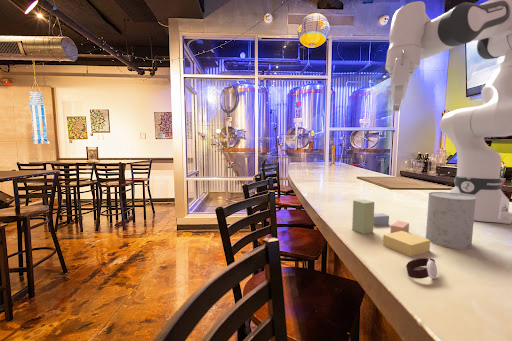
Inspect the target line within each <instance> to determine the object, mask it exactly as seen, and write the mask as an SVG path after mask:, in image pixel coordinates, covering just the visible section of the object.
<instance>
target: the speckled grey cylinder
mask: <svg viewBox="0 0 512 341" xmlns="http://www.w3.org/2000/svg"><path fill="white" fill-rule="evenodd" d="M475 202H476V197H473V196H470V195H464V194H458V193H450V192H444V191H432V192H429V193H428V203H427V213H426V230H425V231H426V232H425V237H424V238H425V239H428V240H430V243H432V244H435V245H437V246H441V247H445V248H450V249H455V250H456V249H457V250H469V249H471V248H472V247H473V235H474V222H475V220H474V213H475Z"/></svg>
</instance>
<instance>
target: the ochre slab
mask: <svg viewBox="0 0 512 341" xmlns="http://www.w3.org/2000/svg"><path fill="white" fill-rule="evenodd" d="M382 238H383V242H382V243H383V244H382V245H383V246H385V247H387V248H390V249H391V250H395V251H396V252H399V253H401V254H404V255H406V256H408V257H414V256H417V255H421V254H423V253H427V252H430V251H431V250H430V249H431V242H430V240H428V239H426V237H422V236H419V235H416V234H412V233H409V232H408V233H407V232H404V231H399V232H394V233H391V232H390V233H386V234H383V237H382Z"/></svg>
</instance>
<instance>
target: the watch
mask: <svg viewBox="0 0 512 341" xmlns="http://www.w3.org/2000/svg"><path fill="white" fill-rule="evenodd" d="M420 267H425V268H423V269H416V268H420ZM405 268H406V271H407V275H408V277H410V278H413V279H419V280H420V279H426V278H430V279H437V276H438V267H437V263H436V260H435V259H434V258H427V257H425V258H424V257H423V258H421V257H420V258H416V259H412V260H410V261H409V262H407V264H406V266H405Z"/></svg>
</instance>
